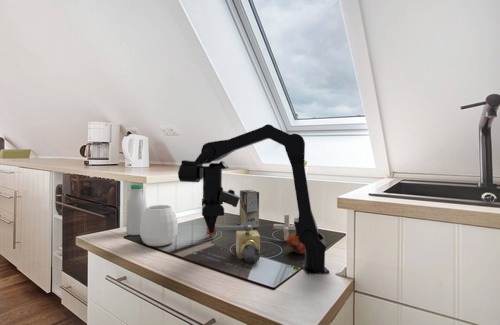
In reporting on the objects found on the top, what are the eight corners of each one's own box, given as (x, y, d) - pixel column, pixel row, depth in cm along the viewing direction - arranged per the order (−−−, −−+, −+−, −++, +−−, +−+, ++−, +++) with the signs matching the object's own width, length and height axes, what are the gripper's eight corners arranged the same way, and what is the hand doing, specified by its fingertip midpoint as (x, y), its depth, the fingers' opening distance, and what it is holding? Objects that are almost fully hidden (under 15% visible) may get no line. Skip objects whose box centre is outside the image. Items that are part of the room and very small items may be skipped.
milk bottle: (146, 234, 118) (147, 185, 118) (126, 236, 115) (126, 185, 115) (146, 229, 125) (146, 183, 125) (126, 231, 123) (126, 183, 122)
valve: (263, 263, 90) (263, 236, 89) (240, 264, 89) (240, 237, 88) (253, 245, 106) (253, 223, 106) (234, 246, 105) (234, 223, 105)
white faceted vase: (139, 239, 111) (140, 204, 111) (175, 237, 116) (175, 203, 115) (139, 251, 99) (140, 211, 98) (179, 247, 103) (180, 209, 103)
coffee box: (259, 227, 133) (260, 192, 133) (246, 228, 130) (247, 192, 130) (250, 222, 142) (251, 189, 141) (238, 223, 139) (239, 190, 138)
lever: (251, 231, 99) (251, 221, 99) (253, 233, 96) (253, 223, 96) (206, 232, 97) (206, 222, 97) (206, 235, 93) (207, 225, 93)
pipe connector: (298, 245, 108) (299, 218, 108) (271, 242, 110) (272, 216, 110) (299, 237, 118) (300, 212, 118) (275, 235, 120) (275, 211, 120)
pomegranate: (297, 265, 95) (318, 243, 98) (284, 248, 93) (305, 227, 97) (287, 259, 102) (306, 240, 105) (274, 243, 100) (294, 224, 104)
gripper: (242, 186, 83) (241, 241, 84) (234, 180, 102) (233, 224, 102) (202, 186, 81) (201, 242, 82) (202, 180, 100) (201, 225, 100)
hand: (211, 232), depth 92 cm, fingers closed
